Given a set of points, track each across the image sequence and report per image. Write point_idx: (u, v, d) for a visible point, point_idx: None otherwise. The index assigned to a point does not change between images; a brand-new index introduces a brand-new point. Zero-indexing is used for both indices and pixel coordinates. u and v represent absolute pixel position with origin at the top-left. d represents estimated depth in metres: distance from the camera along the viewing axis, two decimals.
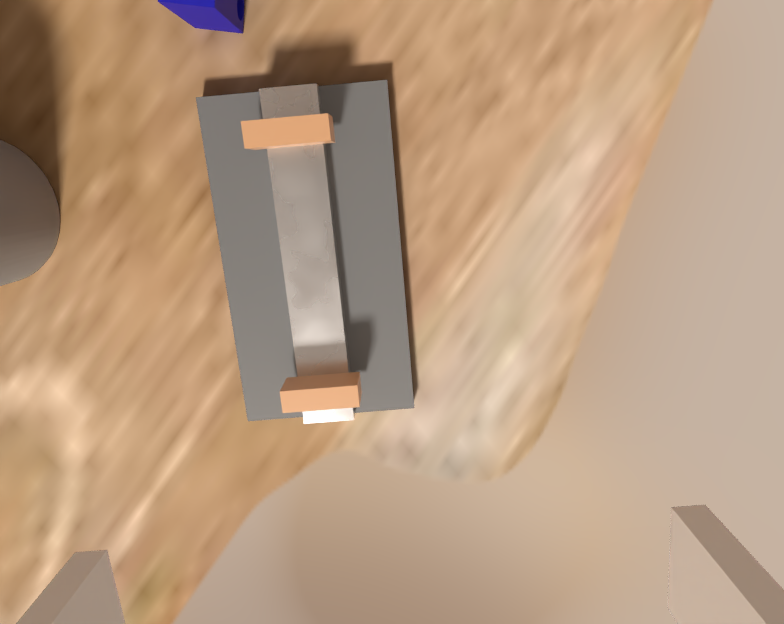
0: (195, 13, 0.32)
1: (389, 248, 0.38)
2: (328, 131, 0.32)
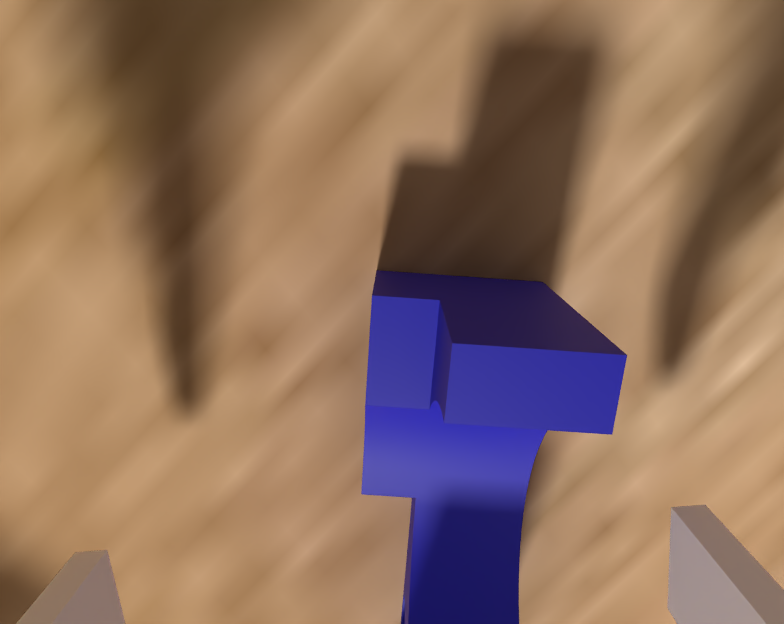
0: None
1: None
2: None
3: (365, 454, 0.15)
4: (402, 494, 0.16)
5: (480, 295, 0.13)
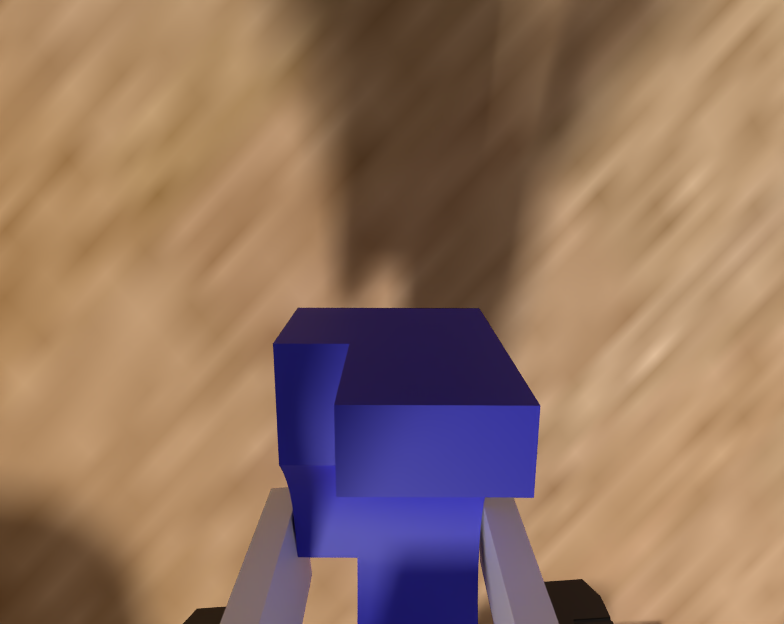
0: None
1: None
2: None
3: (295, 514, 0.14)
4: (342, 554, 0.14)
5: (400, 333, 0.12)
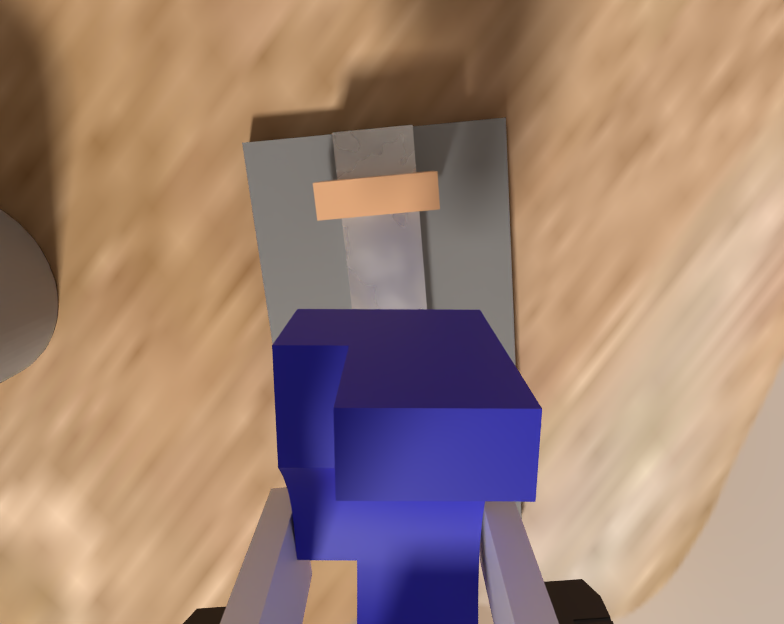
0: None
1: None
2: (437, 196, 0.23)
3: (294, 516, 0.13)
4: (342, 556, 0.14)
5: (400, 335, 0.12)
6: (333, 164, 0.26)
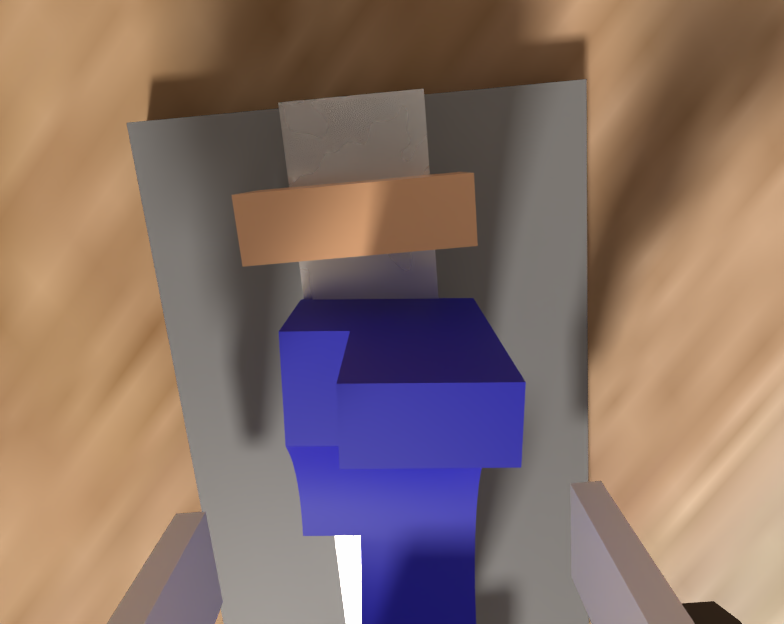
0: None
1: (562, 450, 0.17)
2: (472, 221, 0.12)
3: (301, 494, 0.14)
4: (346, 532, 0.15)
5: (397, 321, 0.13)
6: (285, 160, 0.15)
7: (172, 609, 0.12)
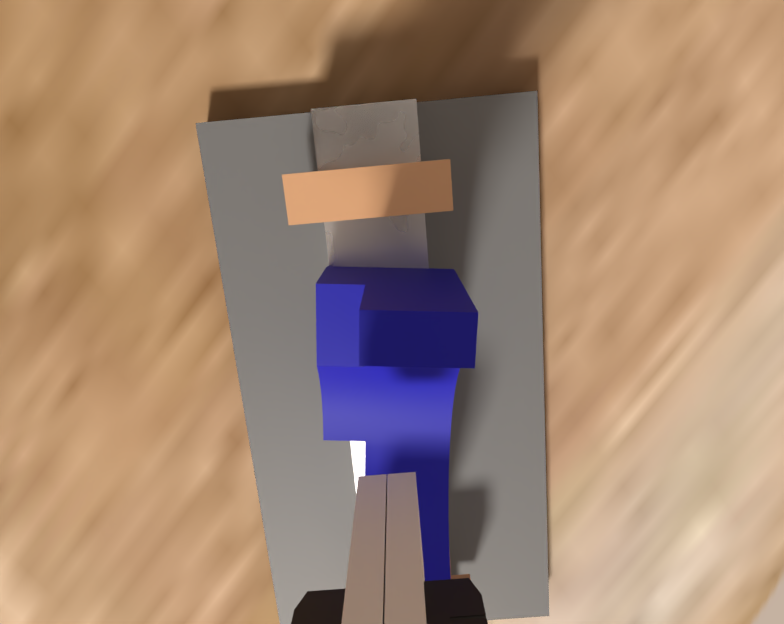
0: None
1: (524, 375, 0.22)
2: (449, 193, 0.17)
3: (323, 407, 0.20)
4: (354, 439, 0.20)
5: (398, 280, 0.18)
6: (313, 151, 0.20)
7: None
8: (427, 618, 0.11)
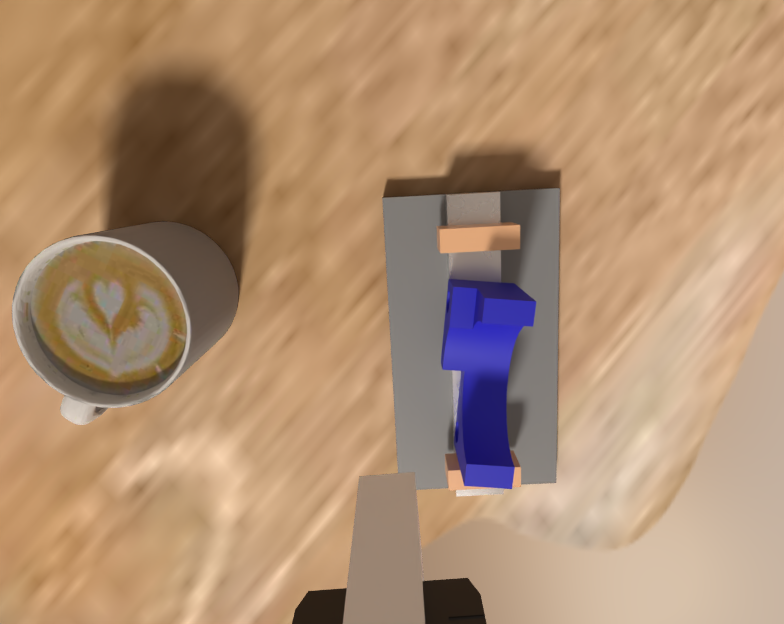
0: None
1: (547, 337, 0.41)
2: (519, 241, 0.35)
3: (445, 351, 0.38)
4: (458, 370, 0.39)
5: (491, 287, 0.36)
6: (442, 214, 0.39)
7: None
8: (425, 618, 0.11)
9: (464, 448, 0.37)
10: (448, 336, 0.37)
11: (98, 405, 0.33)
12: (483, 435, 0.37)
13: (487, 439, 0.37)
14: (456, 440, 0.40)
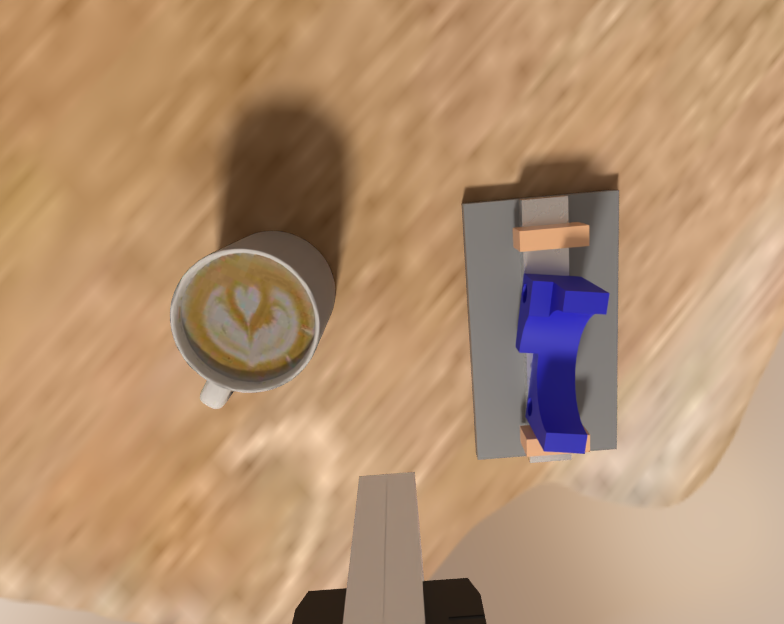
0: None
1: (608, 321, 0.46)
2: (588, 239, 0.41)
3: (522, 336, 0.44)
4: (533, 352, 0.44)
5: (564, 280, 0.42)
6: (516, 216, 0.44)
7: None
8: (426, 618, 0.11)
9: (541, 419, 0.43)
10: (526, 323, 0.43)
11: (241, 391, 0.39)
12: (556, 409, 0.43)
13: (560, 412, 0.43)
14: (528, 414, 0.46)
